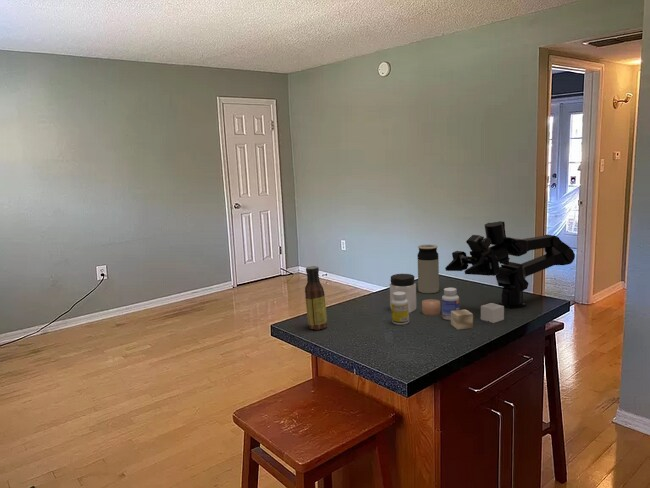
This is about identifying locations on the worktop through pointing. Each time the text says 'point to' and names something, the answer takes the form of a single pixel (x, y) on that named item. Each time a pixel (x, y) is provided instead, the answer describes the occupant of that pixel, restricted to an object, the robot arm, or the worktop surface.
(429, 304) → the tan rounded cylinder
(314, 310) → the sauce bottle
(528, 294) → the worktop surface
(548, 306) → the worktop surface
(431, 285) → the travel mug
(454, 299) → the pill bottle
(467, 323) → the birch block
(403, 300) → the supplement bottle
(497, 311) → the grey block
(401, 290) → the jar
